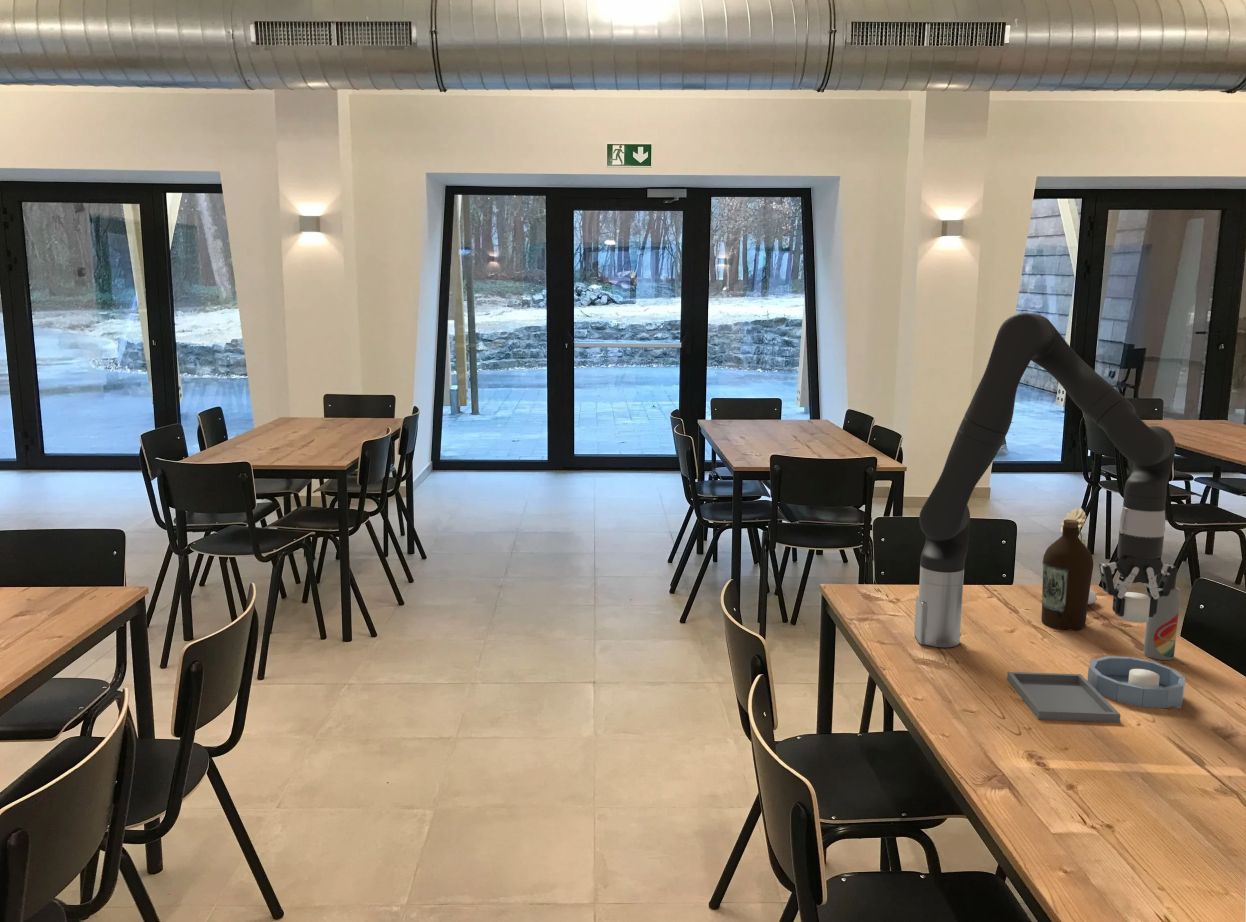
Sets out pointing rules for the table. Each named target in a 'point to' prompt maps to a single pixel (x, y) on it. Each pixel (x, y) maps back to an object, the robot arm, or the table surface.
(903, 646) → the table surface
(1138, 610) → the marshmallow
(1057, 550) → the olive oil
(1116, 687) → the bowl
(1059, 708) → the parts tray
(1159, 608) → the lotion bottle
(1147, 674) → the white marshmallow
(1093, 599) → the flower in vase
